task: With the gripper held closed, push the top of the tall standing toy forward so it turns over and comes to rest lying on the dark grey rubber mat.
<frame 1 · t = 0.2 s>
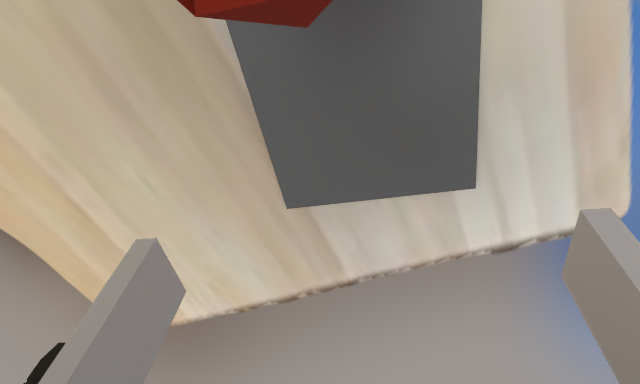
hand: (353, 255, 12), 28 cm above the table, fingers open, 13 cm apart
mat: (362, 100, 39), on the table
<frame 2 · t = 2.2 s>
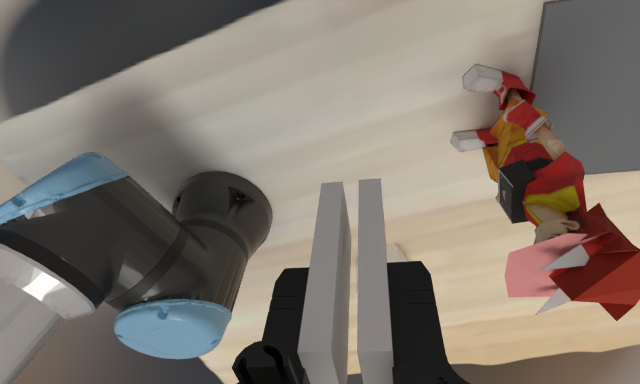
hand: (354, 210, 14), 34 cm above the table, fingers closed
toy: (479, 106, 47), on the table
mat: (639, 89, 44), on the table
bracket: (393, 272, 67), on the table
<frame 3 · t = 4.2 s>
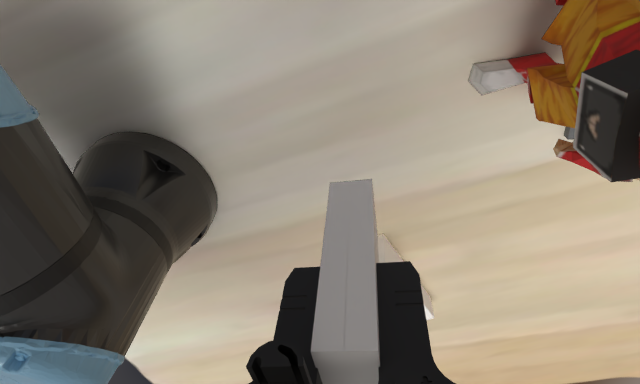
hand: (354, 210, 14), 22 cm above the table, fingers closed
toy: (515, 18, 30), on the table
bracket: (382, 273, 50), on the table
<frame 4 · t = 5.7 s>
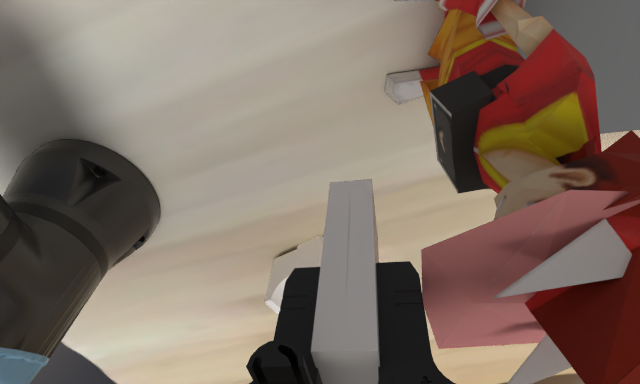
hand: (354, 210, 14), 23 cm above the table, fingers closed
toy: (421, 31, 32), on the table
bracket: (326, 273, 51), on the table
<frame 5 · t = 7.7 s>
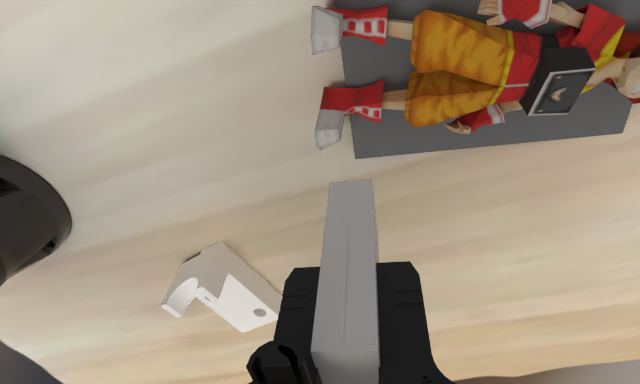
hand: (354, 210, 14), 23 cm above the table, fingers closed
toy: (314, 73, 30), point 4 cm above the table, touching mat
mat: (490, 22, 31), on the table
bracket: (236, 277, 53), on the table
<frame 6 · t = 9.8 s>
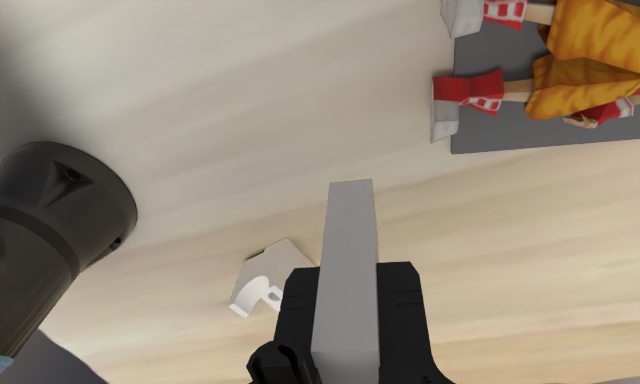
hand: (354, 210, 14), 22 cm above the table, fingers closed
toy: (435, 60, 28), point 4 cm above the table, touching mat
mat: (625, 6, 28), on the table
bracket: (298, 275, 51), on the table
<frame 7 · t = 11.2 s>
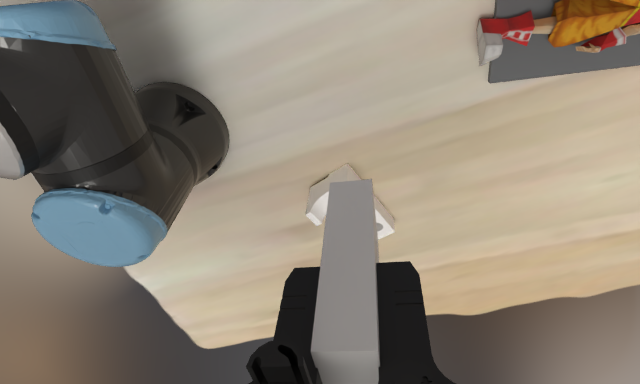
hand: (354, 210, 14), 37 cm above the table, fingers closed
toy: (487, 1, 39), point 4 cm above the table, touching mat
bracket: (353, 200, 62), on the table
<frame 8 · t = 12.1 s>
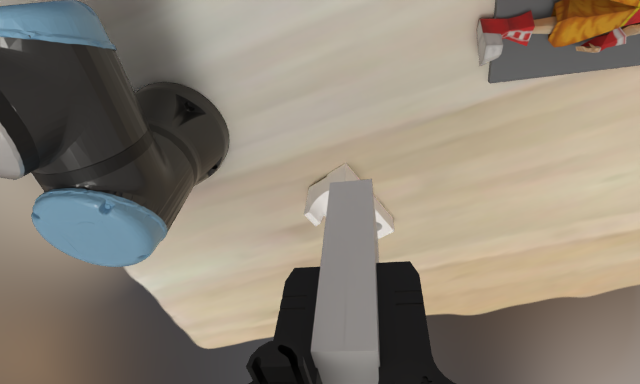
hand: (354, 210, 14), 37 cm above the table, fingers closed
toy: (487, 1, 39), point 4 cm above the table, touching mat
bracket: (352, 199, 62), on the table
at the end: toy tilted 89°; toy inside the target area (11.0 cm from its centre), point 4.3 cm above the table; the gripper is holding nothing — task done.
